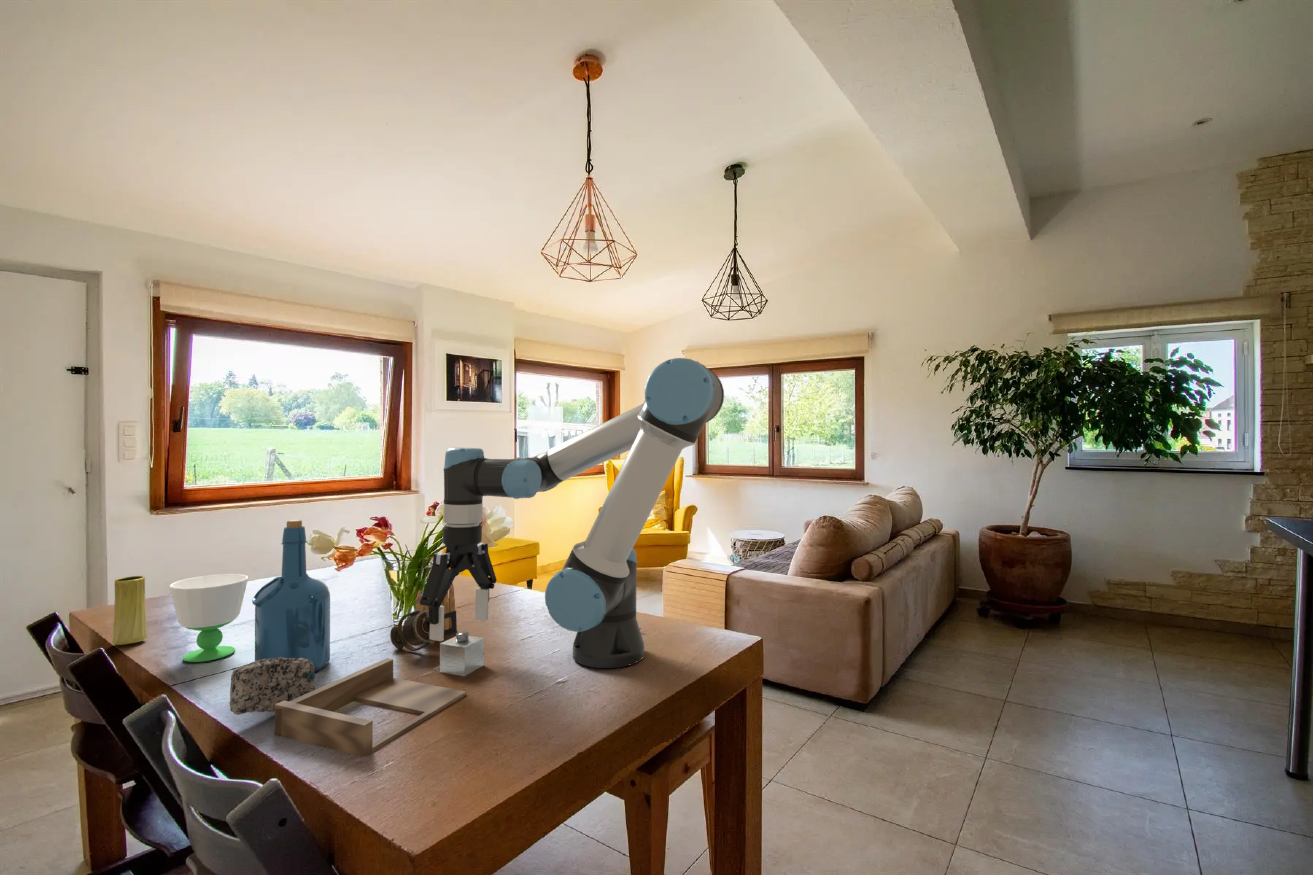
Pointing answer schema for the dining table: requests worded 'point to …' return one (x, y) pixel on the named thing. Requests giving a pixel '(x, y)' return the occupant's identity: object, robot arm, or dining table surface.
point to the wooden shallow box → (373, 685)
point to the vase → (129, 610)
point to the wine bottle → (293, 608)
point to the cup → (208, 610)
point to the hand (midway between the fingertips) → (460, 629)
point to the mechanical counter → (412, 631)
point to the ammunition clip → (449, 610)
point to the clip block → (461, 654)
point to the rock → (270, 683)
